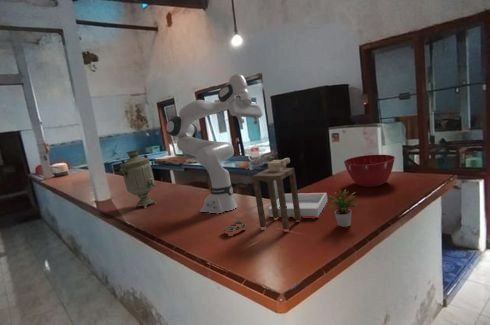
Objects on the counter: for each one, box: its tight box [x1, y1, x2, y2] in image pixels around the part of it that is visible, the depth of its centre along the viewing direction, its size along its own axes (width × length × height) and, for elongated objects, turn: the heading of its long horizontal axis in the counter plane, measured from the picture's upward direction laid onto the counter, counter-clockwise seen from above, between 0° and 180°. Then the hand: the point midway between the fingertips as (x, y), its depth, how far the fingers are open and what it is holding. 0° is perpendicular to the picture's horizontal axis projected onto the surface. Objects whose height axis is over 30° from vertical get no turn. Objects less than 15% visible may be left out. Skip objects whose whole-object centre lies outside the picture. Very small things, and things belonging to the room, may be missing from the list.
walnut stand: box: [252, 167, 302, 230], centre depth 141 cm, size 14×14×26 cm
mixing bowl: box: [343, 154, 396, 188], centre depth 184 cm, size 28×28×15 cm
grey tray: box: [268, 192, 329, 218], centre depth 160 cm, size 25×24×5 cm
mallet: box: [267, 157, 291, 171], centre depth 145 cm, size 14×6×4 cm, turn 145°
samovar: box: [114, 149, 158, 210], centre depth 213 cm, size 30×26×40 cm
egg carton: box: [221, 219, 247, 232], centre depth 145 cm, size 11×8×4 cm
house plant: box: [324, 188, 358, 227], centre depth 131 cm, size 14×14×16 cm
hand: (249, 123), depth 164 cm, fingers open, 8 cm apart
